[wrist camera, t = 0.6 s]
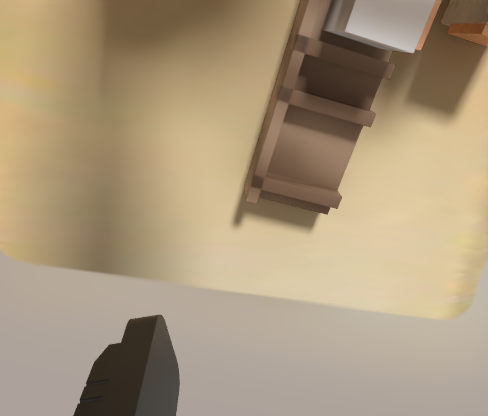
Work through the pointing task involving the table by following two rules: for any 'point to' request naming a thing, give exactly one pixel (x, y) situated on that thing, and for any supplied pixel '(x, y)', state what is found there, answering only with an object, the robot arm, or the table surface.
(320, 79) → the brown wooden rack
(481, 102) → the table surface
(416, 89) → the table surface
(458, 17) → the wood-topped grey cube
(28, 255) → the table surface
